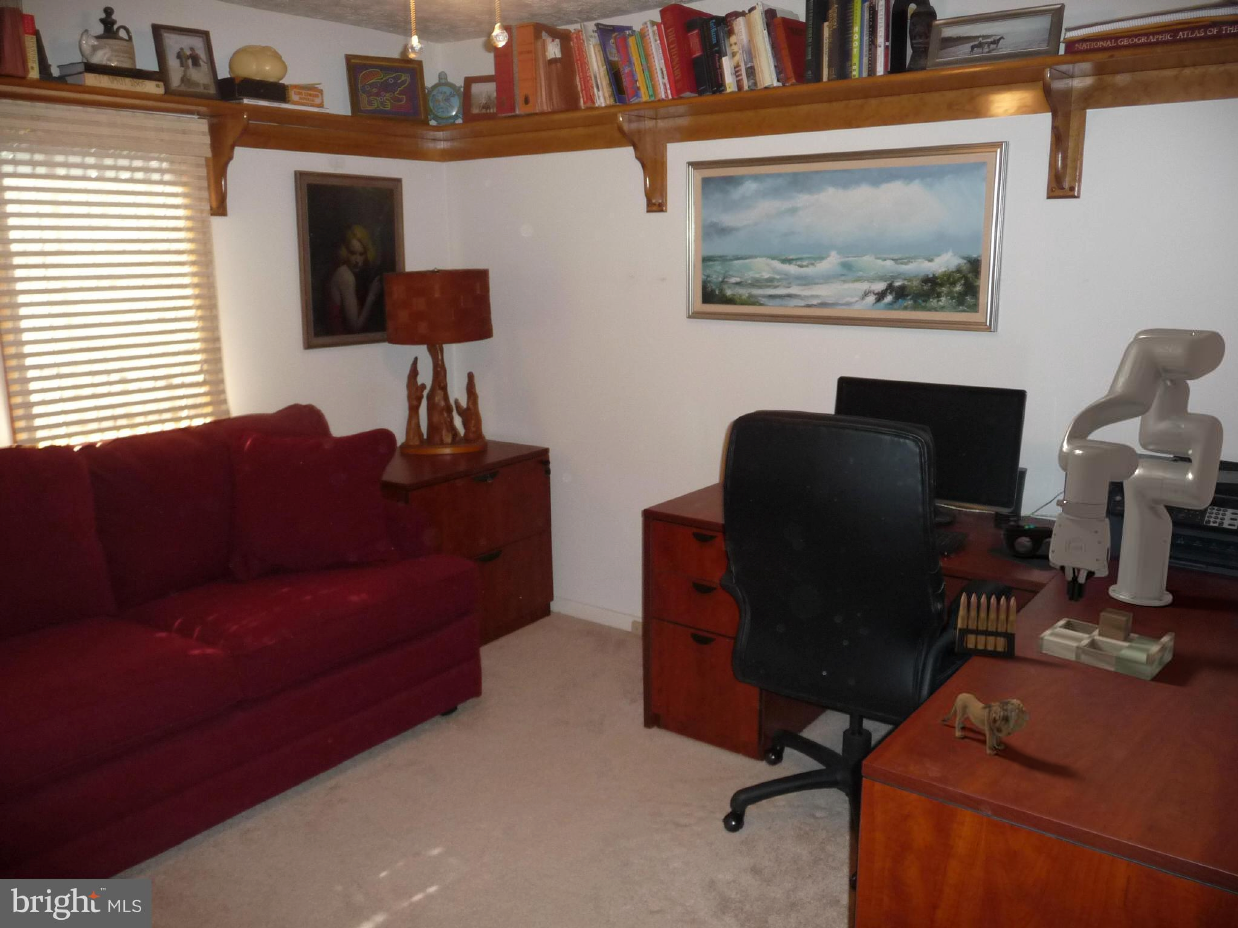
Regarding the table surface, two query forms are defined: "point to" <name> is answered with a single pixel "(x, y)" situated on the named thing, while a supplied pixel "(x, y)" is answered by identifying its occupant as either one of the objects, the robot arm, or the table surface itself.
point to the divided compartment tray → (1107, 649)
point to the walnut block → (1115, 624)
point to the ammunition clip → (986, 628)
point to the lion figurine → (990, 718)
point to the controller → (1017, 531)
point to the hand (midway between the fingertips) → (1075, 599)
